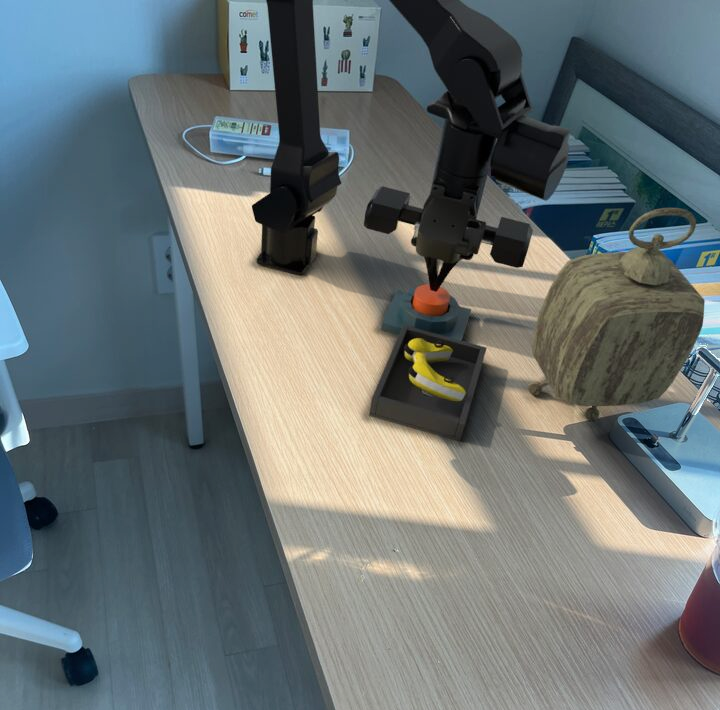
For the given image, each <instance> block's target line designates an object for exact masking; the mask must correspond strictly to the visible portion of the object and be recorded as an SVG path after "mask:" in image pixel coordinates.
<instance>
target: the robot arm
mask: <svg viewBox="0 0 720 710" xmlns="http://www.w3.org/2000/svg"><path fill="white" fill-rule="evenodd" d="M388 1H389V2H390V3H391V5H392V6H393V7H394V8H395V9H396V10H397V12H398V13H399V14H400V15H401V16H402V17H403V18H404V19H405V21H406V22H407V23H408V24H409V25H410V26H411V27H412V29H413V30H414V31H415V32H416V33H417V34H418V36H419V37H420V38H421V39H422V41H423V42H424V44H425V46H426V47H427V49H428V53H429V56H430V60H431V62H432V67H433V69H434V72H435V73H436V75H437V77H438V78H439V79H440V81H441V83H442V84H443V86H444V87H445V89H446V91H445V92H443V94H442V95H441V96H440V97H439V98H438V99H437V100H435V101H433V102H432V103H430V104H428V105H427V107H426V112H427V113H428V114H430V115H433V116H436V117H438V118H441V119H442V120H443V119H444V121H443V127H442V132H441V135H440V142H439V146H438V151H437V156H436V162H435V166H434V171H433V176H432V180H431V185H430V191H429V195H428V196H427V198H426V199H425V201H424V204H423V205H422V208H421V207H417V206H414V205H410V200H411V193H410V192H406V191H403V190H400V189H395V188H391V187H387V186H383V185H382V186H379V188H377V189H376V190H375V192H374V193H373V195H372V197H371V198H370V200H369V202H368V203H367V206H366V210H365V213H364V219H363V226H364V228H366V229H367V230H370V231H374V232H379V233H382V234H386V235H390V234H391V233H393V232H395V231H396V230H397V229H398V226H399V222H400V223H404V224H408V225H412V226H414V227H413V230H414V233H413V235H412V237H411V240H410V245H411V246H413V247H415V253H416V254H417V255H418V256H420V257H422V258H424V261H425V262H424V263H425V265H426V272H427V279H428V284H429V285H430V290H431V291H435V292H437V291H438V289H439V288H440V287H441V286H442V284H443V283H444V282H445V280H446V278H447V277H448V275H449V274H450V273H451V271H452V270H453V268H454V267H455V266H456V265H458V263H459V262H461V261H462V260H465V261H471V260H472V259H473V258H474V255H478V254H479V252H480V248H481V245H482V244H485V245H489V246H491V249H490V253H489V256H490V257H491V258H492V260H493V262H495V263H497V264H500V265H504V266H508V267H512V268H516V269H519V268H523V267H524V264H525V261H526V258H527V254H528V250H529V248H530V244H531V239H532V236H533V232H534V230H533V227H532V225H531V224H530V223H527V222H524V221H520V220H516V219H512V218H508V217H505V216H501V217H500V219H499V223H498V226H497V227H495V226H491V225H487V222H486V221H483V220H480V219H477V218H478V214H479V210H480V206H481V202H482V198H483V195H484V191H485V187H486V182H487V178H488V176H489V171H490V177H491V178H494V179H495V181H496V182H497V183H499V184H502V185H503V186H507V187H509V188H512V189H514V190H517V191H520V192H522V193H524V194H527V195H530V196H532V197H535V198H537V199H540V200H542V201H546V202H547V201H549V200H550V199H551V197H552V195H554V193H555V191H556V190H557V188H558V186H559V184H560V182H561V180H562V178H563V176H564V173H565V171H566V169H567V165H568V164H569V160H570V157H568V155H569V153H570V152H569V151H570V144H569V139H570V136H571V130H570V129H568V128H566V127H563V126H559V125H552V124H549V123H546V122H543V121H540V120H537V119H536V118H535V119H534V118H532V117H529V116H527V115H529V114H530V113H532V111H533V106H532V103H531V99H530V96H529V93H528V89H527V87H526V82H525V79H524V77H523V74H522V68H523V64H522V63H523V51H522V48H521V45H520V44H519V42H518V41H517V39H515V37H513V35H512V34H510V33H509V32H508V31H507V30H505V29H504V28H503V27H502V26H501V25H499V24H498V23H497V22H495V21H494V20H493V19H492V18H490V17H489V16H487V15H485V14H483V13H481V12H479V11H477V10H475V9H473V8H471V7H469V6H468V5H466V3H464V2H462V1H461V0H388ZM265 2H266V9H267V19H268V28H269V29H268V30H269V40H270V41H269V42H270V51H271V61H272V72H273V83H274V93H275V106H276V116H277V126H278V136H279V138H278V139H279V140H278V144H277V149H276V151H275V154H274V157H273V161H272V164H271V166H270V179H269V180H270V182H269V193H268V194H266V195H265V196H264V197H262V198H260V199H259V200H257V201H255V202H254V203H253V204H252V205H251V209H252V213H253V218H254V221H255V222H256V223H257V224H259V225H261V245H260V247H261V248H260V251H261V252H260V253H259V254H258V256H257V258H256V259H255V260H256V262H255V263H256V264H257V265H261V266H265V267H268V268H272V269H276V270H279V271H282V272H285V273H286V272H287V273H289V274H290V273H291V274H294V275H297V276H301V275H303V274H304V272H305V271H306V270H307V268H308V267H309V266H311V264H312V263H313V261H314V260H315V259H316V256H317V247H318V235H319V230H318V229H317V228H315V224H316V215H315V214H317V213H320V212H321V211H322V210H323V209H324V207H325V206H326V205H328V204H329V203H330V202H331V201H332V200H334V198H335V197H336V195H337V192H338V187H339V186H341V185H342V180H341V177H340V172H339V165H340V155H339V153H338V152H337V151H329V150H328V148H327V146H326V144H325V142H324V141H323V139H322V136H321V124H320V122H321V121H320V105H319V89H318V88H319V87H318V86H319V85H318V72H317V71H318V69H317V54H316V53H317V52H316V37H315V36H316V35H315V19H314V18H315V17H314V0H265ZM500 97H501V98H503V100H504V102H503V103H502V104H501V105H499V106H498V105H497V101H496V100H497V99H498V98H500ZM441 261H442V265H441ZM440 265H441V267H440Z"/></svg>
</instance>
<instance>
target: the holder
mask: <svg viewBox="0 0 720 710" xmlns="http://www.w3.org/2000/svg"><path fill="white" fill-rule="evenodd" d="M416 338H421V339H423V340H425V341H426V342H429V343H431V344H435V343H436V342H437V341H442V342H443V344H444V345H445V346H448V347H450V348H451V349H452V350H453V352H452V354H451V356H450V358H449V359H447V360H444V361H432V362H427V364H428V365H429V366H430V367H431V368H432V369H433V370H434V371H435V372H436V373H437V374H438V375H440V376H442V377H444V378H445V377H446V376H452V377H453V379H454V383H456V384H458V385H460V386H461V387H463V389H464V390H465V392H466V394H465V396H464V398H463V399H462V401H452V400H447V399H444V398H440V397H437V396H435V395H433V394H432V395H433V396H432V397H431V396H425V395H423V393H422V390H420V388H417V387H416V386H415V385H414V384H412V382H411V381H410V379H409V368H410V367H411V366H413V365H414V364H415V363H414V362H412V361H409V360H407V359H406V357H405V350H404V346H405V345H406V344H408V343H409V342H410V341H411V340H413V339H416ZM438 344H439V345H441V344H442V343H438ZM487 348H488V347H487V346H482V345H478V344H475V343H471V342H468V341H464V340H462V341H461V340H457V339H454V338H450V337H446V336H443V335H439V334H435V333H432V332H428V331H424V330H421V329H417V328H413V327H410V326H409V327H408V326H406V325H403V326H402V329H401V331H400V333H399V335H397V338H396V341H395V343H394V345H393V347H392V350H391V352H390V354H389V357H388V359H387V362H386V364H385V366H384V368H383V371H382V373H381V375H380V378H379V380H378V382H377V385H376V387H375V390H374V392H373V395H372V396H371V401H370V406H369V413H368V416H369V417H372V418H376V419H379V420H383V421H386V422H388V423H393V424H396V425H400V426H403V427H407V428H411V429H413V430H417V431H421V432H424V433H426V434H431V435H434V436H438V437H442V438H445V439H447V440H448V439H449V440H452V441H455V442H459V443H460V442H461V440H462V437H463V433H464V430H465V427H466V424H467V421H468V416H469V412H470V409H471V406H472V401H473V399H474V395H475V392H476V388H477V384H478V381H479V376H480V373H481V370H482V366H483V362H484V359H485V355H486V352H487ZM446 379H448V380H450V381H452V379H451V378H450V377H446Z"/></svg>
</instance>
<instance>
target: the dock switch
mask: <svg viewBox="0 0 720 710" xmlns="http://www.w3.org/2000/svg"><path fill="white" fill-rule="evenodd" d="M418 287H419V286H418ZM418 287H412V288H411V289H409V290H407V291H405V290H401V289H396V291H395V293H394V295H393V298H392V300H391V302H390V305H389V307H388V308H387V311H386V313H385V315H384V317H383V320H382V321H381V326H380V331H382V332H386V333H389V334H393V335H396V336H399V333H400V331H401V329H402V326H403V325H406V326H408V327H409V326H410V327H413V328H417V329H421V330H424V331H428V332H432V333H435V334H439V335H443V336H446V337H450V338H454V339H457V340H461V341H463V338H464V336H465V335H464V334H465V332H466V328H467V325H468V323H469V319H470V316H471V312H472V308H468V307H464V306H461V305H460V304H459V303H458V301H457V299H456V297H453V296H452V295H451V294H449V295H450V300H449V304H448V308H447V311H446V313H445V314H443V315H441V316H429V315H426V314H422V313H420V312H418V311H417V310H416V309H414V307H413V299H414V294H415V290H416V289H417V288H418Z"/></svg>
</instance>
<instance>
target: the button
mask: <svg viewBox="0 0 720 710" xmlns="http://www.w3.org/2000/svg"><path fill="white" fill-rule="evenodd" d="M416 288H417V287H416ZM450 295H451V294H450V293H449V292H448V291H447V290H446V289H445V288H443V287H441V286H440V288H439V289H438V291H437V292H435V291H431V290H430V285H429V283H428V284H421V285H419V286H418V288H417V289H416V290H415V294H414V299H413V307H414V309H416V310H417V311H418V312H420V313H422V314H426V315H429V316H441V315H443V314H445V313H446V311H447V308H448V304H449V300H450Z"/></svg>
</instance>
